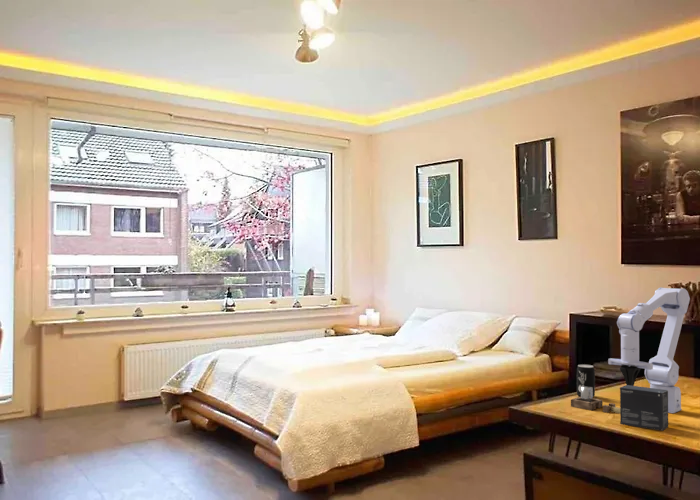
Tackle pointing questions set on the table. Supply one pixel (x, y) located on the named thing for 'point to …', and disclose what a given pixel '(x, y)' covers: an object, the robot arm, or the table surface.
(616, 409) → the lock pin
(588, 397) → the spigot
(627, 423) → the small box
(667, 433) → the table surface
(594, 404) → the dock mount
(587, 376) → the beverage can
